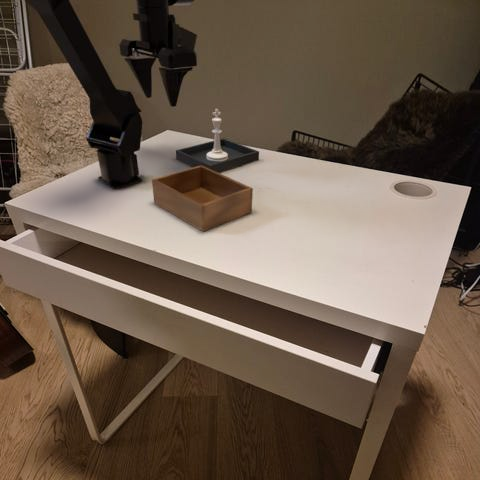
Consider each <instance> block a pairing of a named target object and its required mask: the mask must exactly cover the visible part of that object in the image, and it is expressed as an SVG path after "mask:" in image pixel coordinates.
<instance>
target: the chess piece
mask: <svg viewBox="0 0 480 480" xmlns="http://www.w3.org/2000/svg"><path fill="white" fill-rule="evenodd" d="M220 115H222V112H221V111H219V109H218V108H215V109H214V112H212V116H215V117H213V118H212V119H211V122H212V124H213V128H214V129H212V131H211V133H213V134H214V139H213V141H214V147H213V149H212V151H210V152H208V153H207V156H206V158H207V159H208V160H210V161H224V160H227V159H228V154H227V153H226V152H224V151H222V149H221V146H220V139H221V137H220V134H222V132H223V131H222V129H220V127H221V123H222V118H220V117H219V116H220Z"/></svg>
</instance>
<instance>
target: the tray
mask: <svg viewBox="0 0 480 480" xmlns="http://www.w3.org/2000/svg"><path fill="white" fill-rule="evenodd" d="M220 146H221V149H222V151H224V152H226V153H227V154H228V159H227V160H224V161H210V160H208V159H207V158H206V156H207V153H208V152H210V151H212V149H213V147H214V140H211V141H208V142H203V143H199V144H196V145H191V146H187V147H184V148H180V149H176V150H175V160H176V161H179V162H181V163H183V164H185V165H187V166H189V167H191V168H193V167H197V166H200V165H202V166H204V167H206V168H209V169H211V170H213V171H215V172H217V173H222V172H225V171H229V170H232V169H235V168H238V167H239V168H240V167H242V166H246V165H248V164H251V163H255V162H258V161H260V151H259V150H258V149H257V150H256V149H254V148H251V147H249V146H246V145H244V144H240V143H237V142H236V141H233V140H230V139H227V138H224V137H223V138H220Z"/></svg>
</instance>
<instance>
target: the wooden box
mask: <svg viewBox="0 0 480 480" xmlns="http://www.w3.org/2000/svg"><path fill="white" fill-rule="evenodd" d="M151 185H152V186H151V187H152V194H153V196H152V197H153V203H154V204H155V205H156V206H158V207H161V208H162V209H164V210H166V211H167V212H168V213H171V214H172V215H174V216H175V217H177V218H179V219H181V220H182V221H184V222H186V223H187V224H190V225H191V226H193V227H195V228H196V229H197V230H199V231H201V232H205V231H208V230H210V229H213V228H215V227H217V226H220V225H223V224H226V223H228V222H231V221H233V220H236V219H239V218H240V217H243V216H246V215H248V214H251V213H253V196H254V195H253V194H254V193H253V192H254V188H253V187H251V186H248V185H247V184H244V183H242V182H240V181H237V180H235V179H233V178H231V177H229V176H227V175H224V174H222V173H221V172H219V173H217V172H215V171H213V170H211V169H209V168H206V167H204V166H202V165H200V166H197V167H190V168H187V169H184V170H183V169H182V170H180V171H176V172H173V173H170V174H165V175H162V176H159V177H155V178H152V179H151Z"/></svg>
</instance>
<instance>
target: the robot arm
mask: <svg viewBox="0 0 480 480" xmlns="http://www.w3.org/2000/svg"><path fill="white" fill-rule="evenodd" d="M24 1H25V2H26V3H27V5H29V6H30V7H31V8H32V9H34V10H35V12H36V13H37V14H38V15H39V17H40V19H41V20H42V23H44V26H45V27H46V29H47V30H48V32H49V34H50V35H51V37H52V39H53V40H54V42H55V44H56V45H57V47H58V49H59V51H60V52H61V54H62V55H63V57H64V59H65V60H66V62H67V64H68V65H69V67H70V68H71V70H72V72H73V74H74V75H75V77H76V78H77V80H78V82H79V84H80V85H81V87H82V88H83V90H84V92H85V94H86V96H87V97H88V99H89V114H90V116H91V119H92V120H93V121H92V123H91V126H90V128H89V131H88V132H87V135H86V137H85V140H86V142H87V144H88V146H89V148H91V149H95V150H96V154H97V155H96V156H97V160H98V164H99V170H100V176H98V180H99V181H100V182H101V183H103V184H105V185H106V186H108V187H109V188H111V189H114V190H116V189H119V188H124V187H127V186H131V185H133V184H137V183H141V182H143V178H142V177H141V176H140V170H139V162H138V156H137V154H136V152H138V151H140V150H141V143H142V131H143V118H142V116H141V112H142V109H141V108H140V107H139V106H138V104H137V102H136V100H135V97H134V95H133V93H132V92H131V91H129V90H124V89H120V88H119V89H118V88H116V86H115V84H114V83H113V81H112V79H111V77H110V75H109V72H108V71H107V69H106V67H105V65H104V63H103V61H102V59H101V58H100V56H99V54H98V52H97V50H96V48H95V47H94V45H93V42H92V41H91V39H90V36H89V35H88V33H87V31H86V29H85V27H84V25H83V23H82V22H81V20H80V18H79V15H78V14H77V12H76V10H75V8H74V6H73V5H72V3H71V0H24ZM194 1H195V0H135V3H136V12H132V18H133V20H134V21H137V23H138V32H139V37H132V38H131V37H130V38H122V39H121V41H120V42H119V44H118V45H119V53H120V56H122V57H124V62H126V63H127V65H128V66H129V69H130V71H131V72H132V73H133V76H134V77H135V80H136V81H137V82H138V85H139V87H140V88H141V90H142V92H143V94H144V96H145V98H147V99H150V98H152V97H153V95H152V93H153V87H152V85H153V82H152V81H153V79H152V77H153V76H152V75H153V74H152V68H153V66H154V64H155V62H156V61H157V59H158V62H159V64H160V67H158V71H159V75H160V77H161V81H162V84H163V87H164V91H165V93H166V97H167V100H168V103H169V106H170V107H172V108H173V107H177V104H178V99H179V96H180V92H181V86H182V84H183V80H184V78H185V76H186V75H187V74H188V73H189V72H191V71H193V69H194V68H193V67H197V66H198V54H197V52H196V51H195V48H196V43H197V40H198V39H197V38H198V34H196V33H195V32H192V31H190V30H189V29H187V28H184V27H182V26H180V24H179V23H177V22H176V16H175V15H174V14H173V13H170V9H169V7H176V6H179V7H180V6H181V7H182V6H190V5H192V4H193V3H194ZM111 138H112V139H111ZM115 139H117V140H115Z"/></svg>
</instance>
